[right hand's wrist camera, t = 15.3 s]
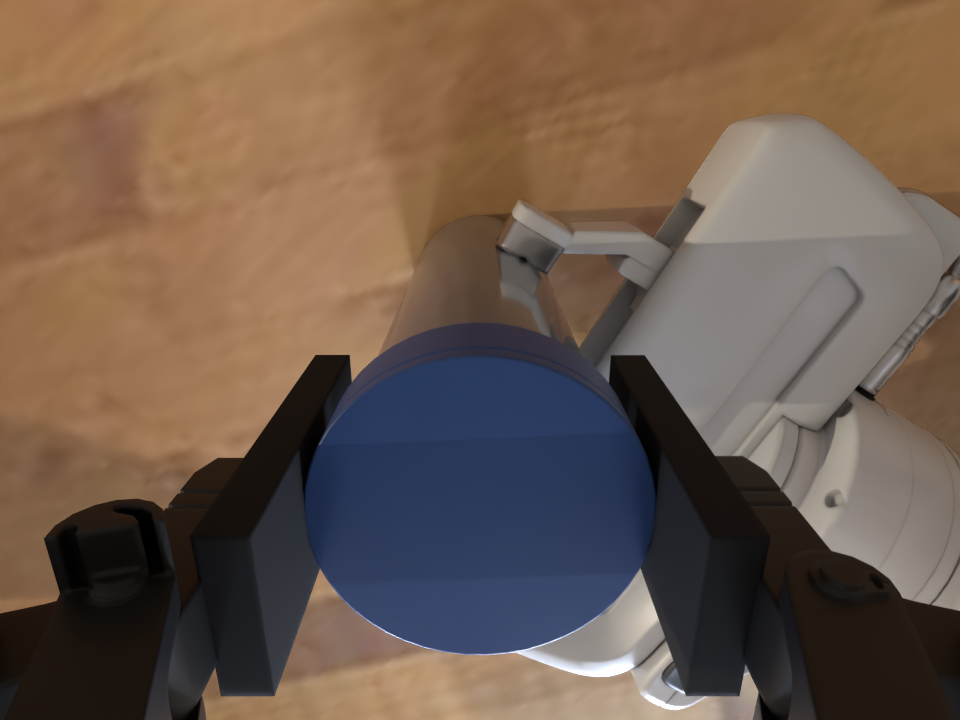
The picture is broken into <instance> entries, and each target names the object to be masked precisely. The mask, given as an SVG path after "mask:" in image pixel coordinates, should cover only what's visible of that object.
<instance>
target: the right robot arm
mask: <svg viewBox="0 0 960 720" xmlns="http://www.w3.org/2000/svg"><path fill="white" fill-rule="evenodd" d="M351 383H352V380H351V368H350V355H315V357H314V358H313V360H312V361H311V363H310V364H309V365H308V367H307V368H306V370H305V371H304V373H303V374H302V375H301V377H300V378H299V380H298V381H297V383H296V384H295V385H294V387H293V388H292V390H291V391H290V393H289V394H288V396H287V397H286V398H285V400H284V401H283V403H282V404H281V406H280V407H279V408H278V410H277V411H276V413H275V414H274V416H273V417H272V418H271V420H270V421H269V423H268V424H267V426H266V427H265V429H264V430H263V431H262V433H261V434H260V436H259V437H258V439H257V440H256V441H255V443H254V444H253V446H252V447H251V449H250V450H249V451H248V453H247V454H246V456H245V457H244V458H217V459H216V460H214V461H212V462H211V463H209V464H208V465H206V466H205V467H203V468H201V469H200V470H198V471H197V472H195V473H194V474H193V475H192V477H191V478H190V479H189V480H188V482H187V483H186V484H185V485H184V487H183V488H182V489H181V492H180V494H177V495H176V496H175V498H174V499H173V500H172V501H171V503H170V504H169V508H166V509H165V510H164V511H163V509H162V508H160V507H159V506H158V505H157V504H155V503H154V502H151V501H146V500H141V499H126V500H115V501H111V502H106V503H102V504H98V505H94V506H92V507H89V508H87V509H84V510H82V511H80V512H77V513H75V514H73V515H71V516H70V517H68V518H66V519H65V520H63V521H62V522H60V523H59V524H57V525H56V526H55V527H54V528H53V529H52V530H51V531H50V532H49V533H48V535H47V536H46V537H45V538H44V540H45V544H46V547H47V551H48V554H49V557H50V561H51V564H52V568H53V571H54V574H55V578H56V581H57V584H58V588H59V591H60V595H59V597H58V600H57V601H55V602H51V603H48V604H44V605H39V606H34V607H29V608H25V609H20V610H15V611H11V612H6V613H1V614H0V720H206V715H205V708H204V703H203V698H202V693H203V691H204V689H205V687H206V685H207V683H208V681H209V679H210V676H211V674H212V672H213V670H214V668H216V673H217V678H218V683H219V688H220V693H221V696H275V693H276V690H277V687H278V685H279V682H280V679H281V676H282V673H283V671H284V668H285V665H286V662H287V659H288V657H289V654H290V651H291V648H292V645H293V643H294V640H295V637H296V634H297V631H298V629H299V626H300V623H301V620H302V617H303V615H304V612H305V609H306V606H307V603H308V600H309V598H310V595H311V592H312V589H313V586H314V584H315V581H316V578H317V575H318V572H319V570H320V567H319V565H318V563H317V561H316V559H315V556H314V554H313V551H312V549H311V546H310V543H309V538H308V531H307V523H306V514H305V504H304V490H305V483H306V478H307V474H308V470H309V465H310V463H311V460H312V458H313V456H314V453H315V451H316V448H317V446H318V444H319V442H320V440H321V438H322V436H323V434H324V432H325V430H326V428H327V426H328V424H329V422H330V420H331V418H332V416H333V414H334V412H335V410H336V408H337V406H338V404H339V402H340V400H341V399H342V397H343V395H344V393H345V392H346V390H347V388H348V387H349V386H350V384H351ZM609 384H610V386H611V387H612V389H613V390H614V392H615V393H616V394H617V396H618V398H619V400H620V402H621V404H622V406H623V408H624V410H625V412H626V414H627V416H628V418H629V420H630V422H631V424H632V426H633V428H634V430H635V432H636V434H637V436H638V438H639V440H640V442H641V444H642V446H643V448H644V450H645V452H646V454H647V457H648V460H649V463H650V466H651V469H652V472H653V477H654V483H655V489H656V507H655V517H654V525H653V533H652V539H651V543H650V546H649V549H648V552H647V554H646V557H645V559H644V561H643V563H642V565H641V567H640V569H641V571H642V574H643V577H644V580H645V583H646V585H647V588H648V591H649V594H650V597H651V599H652V602H653V605H654V608H655V611H656V613H657V616H658V619H659V622H660V625H661V627H662V630H663V633H664V636H665V639H666V641H667V644H668V647H669V650H670V653H671V656H672V658H673V661H674V664H675V667H676V670H677V672H678V675H679V678H680V681H681V684H682V686H683V689H684V692H685V695H686V696H739V695H740V690H741V685H742V680H743V675H744V670H745V665H746V666H747V668H748V670H749V672H750V675H751V677H752V679H753V681H754V683H755V685H756V687H757V689H758V691H759V693H758V698H757V703H756V708H755V712H754V717H753V720H960V611H958V610H953V609H949V608H944V607H939V606H935V605H930V604H925V603H920V602H916V601H912V600H908V599H905V598H902V596H901V594H900V592H899V591H898V589H897V588H896V587H895V585H894V584H893V583H892V581H891V580H890V579H889V578H888V577H886V576H885V575H884V574H882V573H881V572H880V571H878V570H877V569H876V568H874V567H873V566H871V565H869V564H867V563H865V562H863V561H861V560H859V559H856V558H854V557H852V556H849V555H845V554H841V553H837V552H834V551H831V550H830V548H829V547H828V546H827V545H826V544H825V542H824V541H823V540H822V539H821V537H820V536H819V535H818V534H817V533H816V531H815V530H814V529H813V528H812V526H811V525H810V524H809V523H808V521H807V520H806V519H805V518H804V517H803V515H802V514H801V513H800V512H799V510H798V509H797V508H796V507H795V506H792V502H791V501H790V499H789V498H788V497H787V496H786V494H785V493H784V492H781V491H780V487H779V486H778V485H777V483H776V482H775V481H774V480H773V478H772V477H771V476H770V475H769V474H768V472H767V471H766V470H764V469H763V468H761V467H759V466H758V465H756V464H755V463H753V462H752V461H750V460H748V459H747V458H745V457H744V456H715V455H714V454H713V452H712V451H711V449H710V448H709V447H708V445H707V444H706V442H705V441H704V439H703V438H702V437H701V435H700V434H699V432H698V431H697V429H696V428H695V426H694V425H693V424H692V422H691V421H690V419H689V418H688V416H687V415H686V414H685V412H684V411H683V409H682V408H681V406H680V405H679V404H678V402H677V401H676V399H675V398H674V396H673V395H672V394H671V392H670V391H669V389H668V388H667V386H666V385H665V383H664V382H663V381H662V379H661V378H660V376H659V375H658V373H657V372H656V371H655V369H654V368H653V366H652V365H651V363H650V362H649V361H648V359H647V358H646V356H645V355H611V360H610V373H609Z"/></svg>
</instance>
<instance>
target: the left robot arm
mask: <svg viewBox="0 0 960 720" xmlns="http://www.w3.org/2000/svg"><path fill="white" fill-rule="evenodd" d="M497 245H498V246H499V247H500V248H502V249H503V250H505V251H506V252H508V253H509V254H512V255H514V256H517V257H525V258H526V260H527V262H528V263H529V264H530V265H531V266H533V267H534V268H535V269H537V270H539V271H541V272H542V273H544V274H546V275H547V274H548V272H549V271H550V269H551V268H552V266H553V265H554V263H555V262H556V260H557V259H558V257H559V256H560V254H561V253H563V254H606V259H607V260H608V261H609V263H610V264H611V265H612V266H613V267H614V268H615V269H616V270H617V271H618V272H619V273H620V274H621V275H623V276H624V277H626V278H625V280H624V281H623V283H622V284H621V286H620V287H619V289H618V290H617V292H616V293H615V295H614V296H613V298H612V299H611V301H610V302H609V304H608V305H607V307H606V308H605V310H604V311H603V313H602V314H601V316H600V317H599V319H598V320H597V322H596V323H595V325H594V326H593V328H592V329H591V331H590V332H589V334H588V335H587V337H586V338H585V340H584V341H583V343H582V344H581V346H580V347H579V351H580V353H581V356H582V357H583V358H585V359H586V360H587V361H588V362H590V363H591V364H592V365H593V366H594V367H595V368H596V369H597V370H598V371H599V372H600V373H601V375H602V376H603V377H604V378H605V379H606V380H607V382H608V383H609V373H610V360H611V355H645V356H646V358H647V359H648V361H649V362H650V363H651V365H652V366H653V368H654V369H655V371H656V372H657V373H658V375H659V376H660V378H661V379H662V381H663V382H664V383H665V385H666V386H667V388H668V389H669V391H670V392H671V394H672V395H673V396H674V398H675V399H676V401H677V402H678V404H679V405H680V406H681V408H682V409H683V411H684V412H685V414H686V415H687V416H688V418H689V419H690V421H691V422H692V424H693V425H694V426H695V428H696V429H697V431H698V432H699V434H700V435H701V437H702V438H703V439H704V441H705V442H706V444H707V445H708V447H709V448H710V449H711V451H712V452H713V454H714V455H715V456H744V457H745V458H747V459H748V460H750V461H752V462H753V463H755V464H756V465H758V466H759V467H761V468H763V469H764V470H766V471H767V472H768V474H769V475H770V476H771V477H772V478H773V480H774V481H775V482H776V483H777V485H778V486H779V487H780V491H781V492H784V493H785V494H786V496H787V497H788V498H789V499H790V501H791V502H792V506H795V507H796V508H797V509H798V510H799V512H800V513H801V514H802V515H803V517H804V518H805V519H806V520H807V521H808V523H809V524H810V525H811V526H812V528H813V529H814V530H815V531H816V533H817V534H818V535H819V536H820V537H821V539H822V540H823V541H824V542H825V544H826V545H827V546H828V547H829V548H830V550H831V551H834V552H837V553H841V554H845V555H849V556H852V557H854V558H856V559H859V560H861V561H863V562H865V563H867V564H869V565H871V566H873V567H874V568H876V569H877V570H878V571H880V572H881V573H882V574H884V575H885V576H886V577H888V578H889V579H890V580H891V581H892V583H893V584H894V585H895V587H896V588H897V589H898V591H899V592H900V594H901V596H902V598H905V599H908V600H912V601H916V602H920V603H925V604H930V605H935V606H939V607H944V608H949V609H953V610H958V611H960V457H959V456H958V455H957V454H956V453H955V452H954V451H953V450H952V449H951V448H950V447H949V446H947V445H946V444H945V443H944V442H942V441H941V440H940V439H938V438H937V437H936V436H934V435H933V434H931V433H930V432H928V431H926V430H924V429H922V428H921V427H919V426H918V425H916V424H914V423H913V422H911V421H909V420H908V419H906V418H904V417H903V416H901V415H899V414H898V413H896V412H894V411H893V410H891V409H889V408H888V407H886V406H884V405H883V404H881V403H879V402H878V401H876V400H875V398H874V396H875V395H876V394H877V393H878V391H880V390H881V389H882V387H883V386H884V385H885V384H886V383H887V382H888V380H889V379H890V378H891V377H892V376H893V375H894V374H895V372H896V371H897V370H898V369H899V368H900V367H901V366H902V364H903V363H904V362H905V361H906V359H907V358H908V357H909V355H910V352H912V351H913V349H914V348H915V344H917V343H918V342H919V341H920V337H923V335H924V334H925V333H926V330H929V328H930V327H931V326H932V325H933V324H934V323H935V322H936V320H940V319H942V318H943V317H944V316H945V315H946V314H947V313H948V312H949V311H950V309H951V308H952V307H953V306H954V305H955V303H956V302H957V300H958V299H959V297H960V280H959V278H960V218H959V217H958V216H957V215H956V214H955V213H953V212H952V211H950V210H949V209H947V208H946V207H945V206H943V205H942V204H940V203H939V202H937V201H936V200H934V199H933V198H932V197H930V196H929V195H927V194H926V193H924V192H921V191H919V190H916V189H912V188H897V187H896V186H895V185H894V184H893V183H892V182H891V181H890V180H889V179H888V178H887V177H886V176H885V175H884V174H883V173H882V172H881V171H880V170H878V169H877V168H876V167H875V166H874V165H873V164H872V163H871V162H870V161H868V160H867V159H866V158H865V157H864V156H863V155H862V154H861V153H859V152H858V151H857V150H856V149H855V148H854V147H853V146H851V145H850V144H849V143H848V142H847V141H845V140H844V139H843V138H842V137H840V136H839V135H838V134H837V133H835V132H834V131H833V130H831V129H830V128H828V127H827V126H826V125H824V124H823V123H821V122H820V121H818V120H816V119H814V118H812V117H809V116H805V115H800V114H795V113H773V114H766V115H761V116H756V117H751V118H747V119H743V120H739V121H736V122H734V123H732V124H731V125H730V126H728V127H727V129H726V130H725V131H724V132H723V134H722V135H721V137H720V138H719V140H718V141H717V143H716V144H715V146H714V147H713V149H712V150H711V152H710V153H709V155H708V156H707V158H706V159H705V161H704V162H703V164H702V165H701V167H700V168H699V170H698V171H697V172H696V174H695V175H694V177H693V178H692V180H691V181H690V183H689V184H688V186H687V187H686V189H685V190H684V192H683V193H682V195H681V196H680V198H679V199H678V201H677V202H676V204H675V205H674V207H673V208H672V210H671V211H670V213H669V214H668V216H667V217H666V219H665V220H664V222H663V223H662V225H661V226H660V228H659V229H658V231H657V232H656V234H655V235H654V237H652V236H650V235H648V234H647V233H645V232H643V231H642V230H640V229H638V228H637V227H635V226H633V225H632V224H630V223H628V222H627V221H603V222H567V224H566V225H565V224H563V223H561V222H560V221H558V220H556V219H555V218H553V217H551V216H550V215H548V214H546V213H544V212H543V211H541V210H539V209H538V208H536V207H534V206H533V205H531V204H529V203H527V202H525V201H523V200H521V199H519V200H518V202H517V203H516V205H515V207H514V209H513V210H512V213H511V214H510V215H509V217H508V219H507V221H506V223H505V224H504V226H503V228H502V230H501V231H500V233H499V235H498V237H497ZM947 269H948V270H947ZM946 270H947V272H946V273H945V271H946ZM516 653H519V654H521V655H524V656H526V657H529V658H531V659H534V660H537V661H539V662H542V663H545V664H547V665H550V666H553V667H556V668H559V669H562V670H565V671H568V672H572V673H575V674H580V675H585V676H594V677H605V676H613V675H617V674H621V673H623V672H626V671H628V670H631V673H632V675H633V678H634V680H635V683H636V685H637V687H638V690H639V692H640V694H641V695H642V696H643V697H644V698H645V699H647V700H648V701H650V702H652V703H654V704H656V705H658V706H660V707H663V708H666V709H671V710H679V709H683V708H686V707H689V706H691V705H693V704H695V703H697V702H699V701H700V700H702V699H704V698H705V697H707V696H686V695H685V692H684V689H683V686H682V684H681V681H680V678H679V675H678V672H677V670H676V667H675V664H674V661H673V658H672V656H671V653H670V650H669V647H668V644H667V641H666V639H665V636H664V633H663V630H662V627H661V625H660V622H659V619H658V616H657V613H656V611H655V608H654V605H653V602H652V599H651V597H650V594H649V591H648V588H647V585H646V583H645V580H644V577H643V574H642V571H641V569H639V571H638V572H637V574H636V576H635V577H634V579H633V580H632V582H631V583H630V585H629V586H628V587H627V589H626V590H625V591H624V592H623V593H622V594H621V595H620V597H619V598H618V599H617V600H616V601H615V602H614V603H613V604H612V605H611V606H610V607H609V608H607V609H606V610H605V611H604V612H603V613H602V614H601V615H599V616H598V617H597V618H595V619H594V620H592V621H591V622H589V623H588V624H587V625H585V626H584V627H582V628H580V629H578V630H576V631H574V632H573V633H571V634H569V635H567V636H565V637H562V638H560V639H558V640H555V641H553V642H550V643H548V644H545V645H541V646H538V647H534V648H531V649H528V650H522V651H517V652H516ZM748 673H749V670H748V668H747V666H746V665H745V670H744V675H746V674H748ZM744 675H743V676H744Z"/></svg>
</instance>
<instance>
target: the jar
mask: <svg viewBox="0 0 960 720" xmlns="http://www.w3.org/2000/svg"><path fill="white" fill-rule="evenodd" d="M505 223H506V221H505V220H502V219H499V218H496V217H492V216H469V217H464V218H461V219H458V220H455V221H453V222H451V223H449V224H448V225H446V226H444V227H443V228H442V229H440V230H439V231H438V232H437V233H436V234H435V235H434V236H433V237H432V238H431V239H430V241H429V242H428V244H427V245H426V247H425V249H424V251H423V253H422V255H421V257H420V260H419V262H418V264H417V267H416V269H415V271H414V274H413V276H412V278H411V281H410V283H409V285H408V288H407V290H406V292H405V294H404V297H403V299H402V301H401V304H400V306H399V308H398V311H397V313H396V315H395V318H394V320H393V322H392V325H391V327H390V329H389V332H388V334H387V336H386V338H385V341H384V343H383V345H382V348H381V350H380V352H379V355H381V354H382V353H383V352H385V351H386V350H388V349H389V348H391V347H392V346H394V345H396V344H398V343H400V342H402V341H403V340H405V339H407V338H409V337H411V336H414V335H417V334H420V333H422V332H425V331H428V330H430V329H435V328H439V327H444V326H448V325H453V324H463V323H473V322H476V323H499V324H505V325H512V326H518V327H521V328H525V329H528V330H532V331H535V332H539V333H541V334H543V335H546V336H548V337H550V338H553V339H555V340H557V341H559V342H561V343H562V344H564V345H566V346H567V347H569V348H571V349H572V350H574V351H576V352H577V353H578V354H580V355H581V353H580V351H579V349H578V346H577V344H576V342H575V339H574V337H573V335H572V332H571V330H570V328H569V325H568V323H567V321H566V318H565V316H564V314H563V311H562V309H561V307H560V304H559V302H558V300H557V297H556V295H555V293H554V290H553V288H552V286H551V283H550V281H549V279H548V276H547V275H546V274H544V273H542V272H541V271H539V270H537V269H535V268H534V267H533V266H531V265H530V264H529V263H528V262H527V260H526V258H525V257H517V256H514V255H512V254H509V253H508V252H506V251H505V250H503V249H502V248H500V247H499V246H498V245H497V237H498V235H499V233H500V231H501V230H502V228H503V226H504V224H505ZM379 355H378V356H379Z"/></svg>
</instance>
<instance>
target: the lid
mask: <svg viewBox="0 0 960 720" xmlns="http://www.w3.org/2000/svg"><path fill="white" fill-rule="evenodd" d="M304 504H305V514H306V523H307V531H308V538H309V543H310V546H311V549H312V551H313V554H314V556H315V559H316V561H317V563H318V565H319V567H320V569H321V570H322V572H323V574H324V576H325V577H326V579H327V580H328V582H329V583H330V584H331V586H332V587H333V588H334V590H335V591H336V592H337V593H338V595H339V596H340V597H341V598H342V599H343V600H344V601H345V602H346V603H347V604H348V605H349V606H350V607H351V608H352V609H353V610H355V611H356V612H357V613H358V614H360V615H361V616H362V617H364V618H365V619H366V620H367V621H369V622H370V623H372V624H374V625H375V626H377V627H379V628H380V629H382V630H383V631H385V632H387V633H389V634H391V635H393V636H396V637H398V638H400V639H402V640H404V641H407V642H410V643H413V644H416V645H419V646H422V647H425V648H429V649H434V650H438V651H442V652H449V653H457V654H465V655H492V654H504V653H511V652H517V651H522V650H528V649H531V648H534V647H538V646H541V645H545V644H548V643H550V642H553V641H555V640H558V639H560V638H562V637H565V636H567V635H569V634H571V633H573V632H574V631H576V630H578V629H580V628H582V627H584V626H585V625H587V624H588V623H589V622H591V621H592V620H594V619H595V618H597V617H598V616H599V615H601V614H602V613H603V612H604V611H605V610H606V609H607V608H609V607H610V606H611V605H612V604H613V603H614V602H615V601H616V600H617V599H618V598H619V597H620V595H621V594H622V593H623V592H624V591H625V590H626V589H627V587H628V586H629V585H630V583H631V582H632V580H633V579H634V577H635V576H636V574H637V572H638V571H639V569H640V567H641V565H642V563H643V561H644V559H645V557H646V554H647V552H648V549H649V546H650V543H651V539H652V533H653V525H654V517H655V507H656V489H655V483H654V477H653V472H652V469H651V466H650V463H649V460H648V457H647V454H646V452H645V450H644V448H643V446H642V444H641V442H640V440H639V438H638V436H637V434H636V432H635V430H634V428H633V426H632V424H631V422H630V420H629V418H628V416H627V414H626V412H625V410H624V408H623V406H622V404H621V402H620V400H619V398H618V396H617V394H616V393H615V392H614V390H613V389H612V387H611V386H610V384H609V383H608V382H607V380H606V379H605V378H604V377H603V376H602V375H601V373H600V372H599V371H598V370H597V369H596V368H595V367H594V366H593V365H592V364H591V363H590V362H588V361H587V360H586V359H585V358H583V357H582V356H581V355H580V354H578V353H577V352H576V351H574V350H572V349H571V348H569V347H567V346H566V345H564V344H562V343H561V342H559V341H557V340H555V339H553V338H550V337H548V336H546V335H543V334H541V333H539V332H535V331H532V330H528V329H525V328H521V327H518V326H512V325H505V324H499V323H476V322H473V323H463V324H453V325H448V326H444V327H439V328H435V329H430V330H428V331H425V332H422V333H420V334H417V335H414V336H411V337H409V338H407V339H405V340H403V341H402V342H400V343H398V344H396V345H394V346H392V347H391V348H389V349H388V350H386V351H385V352H383V353H382V354H381V355H379V356H378V357H376V358H375V359H374V360H373V361H372V362H371V363H370V364H369V365H367V366H366V367H365V368H364V369H363V370H362V371H361V372H360V373H359V374H358V376H357V377H356V378H355V379H354V381H353V382H352V383H351V384H350V386H349V387H348V388H347V390H346V392H345V393H344V395H343V397H342V399H341V400H340V402H339V404H338V406H337V408H336V410H335V412H334V414H333V416H332V418H331V420H330V422H329V424H328V426H327V428H326V430H325V432H324V434H323V436H322V438H321V440H320V442H319V444H318V446H317V448H316V451H315V453H314V456H313V458H312V460H311V463H310V465H309V470H308V474H307V478H306V483H305V490H304Z"/></svg>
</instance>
